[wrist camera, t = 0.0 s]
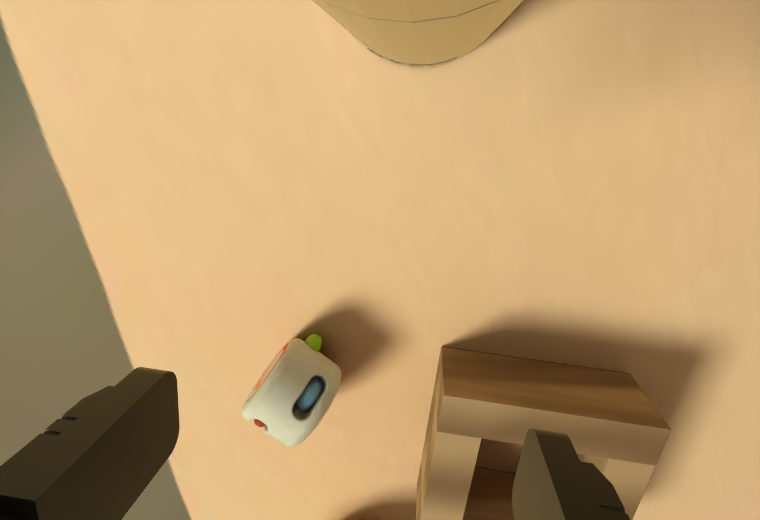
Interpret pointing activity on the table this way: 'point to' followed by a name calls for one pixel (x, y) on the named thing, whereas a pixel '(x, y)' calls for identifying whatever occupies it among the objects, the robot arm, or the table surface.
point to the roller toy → (294, 391)
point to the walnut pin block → (520, 413)
